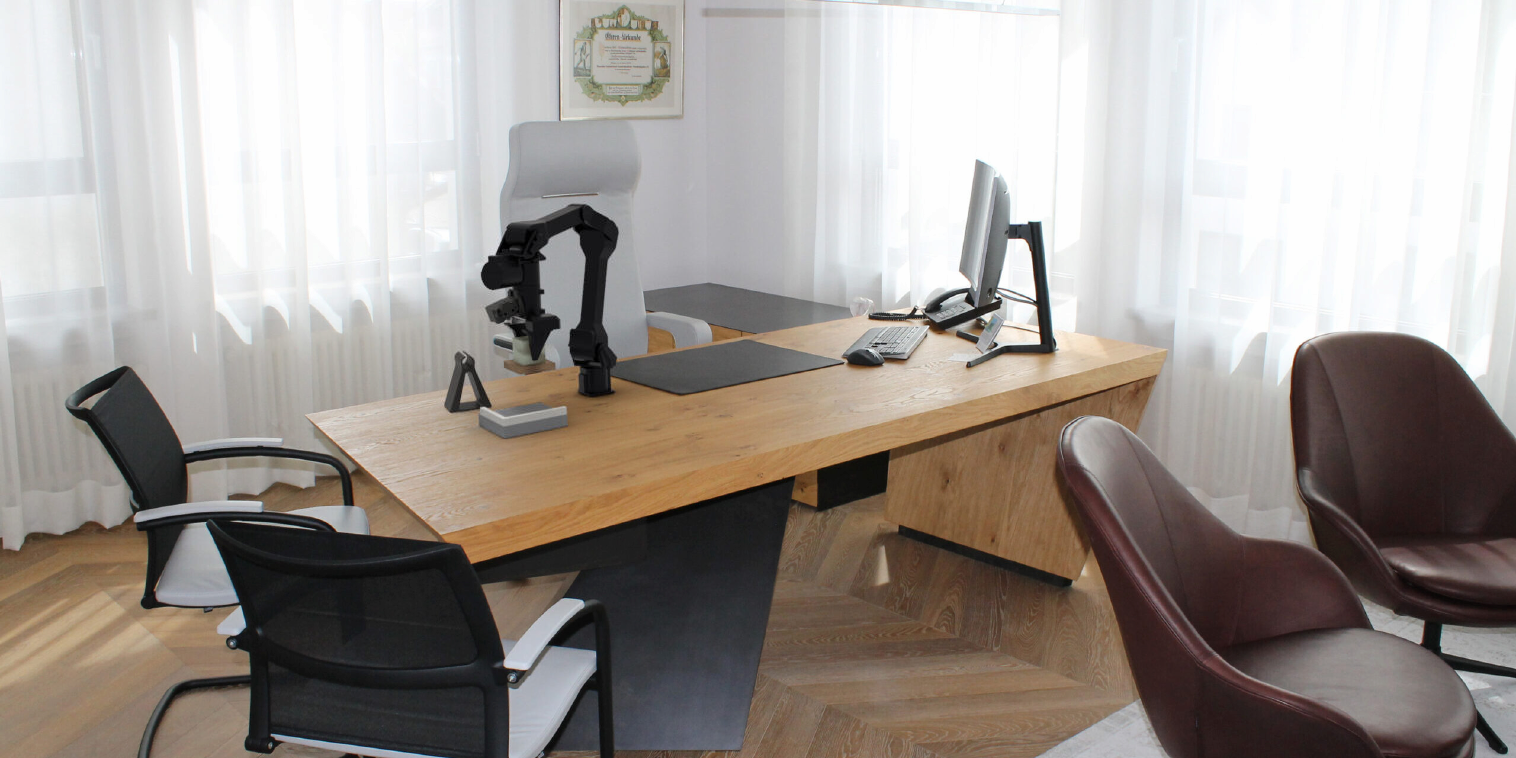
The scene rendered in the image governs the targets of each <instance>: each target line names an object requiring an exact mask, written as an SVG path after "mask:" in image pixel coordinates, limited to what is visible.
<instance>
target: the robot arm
mask: <svg viewBox="0 0 1516 758" xmlns="http://www.w3.org/2000/svg"><path fill="white" fill-rule="evenodd" d="M571 229H572V230H573V231H574V232H575V234H577V235H578V236H579V246H580V249H581V251H582V253H583V256H584V257H585V261H584V272H583V273H584V274H583V282H582V283H583V284H582V295H581V296H582V297H581V307H580V320H579V322H578V324H577V325H576V327H575V328H570V330H569V338H568V339H569V340H568V344H567V347H569V354H570V357H571V360H572V364H573V366H574V367H579V373H578V375H577V377H578V378H577V379H578V389H577V392H578V393H580V394H583V395H586V396H588V397H597V396H602V395H608V394H614V393H615V392H616V390H615V389H613V388H612V375H611V374H612V372H611V370H612V369H613V368H614V367H616V365H617V360H618V356H617V354H616V353H614V351H613V350H612V349H611V348H610V347H609V335H608V333H607V331H606V329H605V327H604V324H603V320H604V307H605V296H606V284H607V274H608V273H607V272H608V263H609V259H610V258H611V257H612V255H613V253H614V252H615V250H616V248H617V244H618V240H619V235H620V233H619V232H620V231H619V227H618V226H617V224H616V223H615V221H614V220H612V219H610V218H609V217H608V216H606V215H604V214H602V213H600V212H598V211H596V210H595V209H594V208H593V207H591V206H590V205H588V204H587V203H570V204H568V205H566V206H565V207H563V208H561V209H558V210H556V211H553V212H552V213H549V214H547V215H545V216H544V215H543V216H542V217H540V218H538V219H533V220H521V221H514V222H511V223H510V222H509V224H507V226H506V227H505V232H504V234H503V236H502V237H501V240H500V242H499V245H498V247H497V249H496V252H495V254H492V255H491V254H490V255H488V256H487V262H485V263H484V265H482V268H481V271H480V278H481V282H482V285H484V287H485V288H487V290H490V291H497V290H501V289H502V290H503V289H508V290H507V296H506V297H504V298H501V299H499V300H497V301H494V302H493V303H490V304H489V305H485V307H484V309H485V311H486V314H487V317H488V319H489V321H490V323H495V324H497V325H500V324H503V325H504V326H505V327H506V328H507V329H509V330H511V332H512V334H513V336H514V337H523V336H528V339H529V345H530V351H531V357H532V360H533V361H537V360H538V358H539V356H540V354H541V352H542V349H543V347H544V345H545V346H546V343H547V340H548V339H549V336H550V334H551V332H553V331H555V330H560V329H561V328H562V326H561V325H562V324H561V319H560V318H559V317H558V316H557V315H555V314H553V313H548V312H547V313H546V308H542V295H545V289H544V288H541V269H540V267H541V266H540V262H544V261H546V260H547V257H546V255H544V254H543V253H542V252H541V250H542V249H543V248H545V247H546V246H547V245H548V244H549V241H550V239H552V238H553V237H555V236H558V235H560V234H561V233H563V232H566V231H568V230H571ZM505 321H506V322H505ZM514 337H513V338H514Z"/></svg>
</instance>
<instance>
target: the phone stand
mask: <svg viewBox="0 0 1516 758" xmlns="http://www.w3.org/2000/svg"><path fill="white" fill-rule="evenodd" d="M464 354H465V355H464ZM453 359H454V369H453V372H452V375H451V379H450V383H449V386H448V390H447V393H446V396H445V400H444V403H443V404H444V407H445V408H446V410H448V411H449V412H450V413H451V414H454V413H462V412H468V411H477V410H480V407H486V408H488V409H491V408H492V406H493V405H492V403H491V401H490V399H489V396H488V395H487V391H486V390H485V387H484V386H483V384H482V382H481V379H480V377H479V375H478V373H477V372H478V371H477V370H476V365H475V364H476V360H475V359H474V357H472V355H471V354H469V353H468V352H467V351H465V350H462V352H461V351H457V352H456V353H455V354H454V357H453ZM465 359H466V360H465ZM464 360H465V361H464ZM466 374H467V376H468V380H469V383H470V386H471V387H472V388H471V389H472V391H473V393H474V397H475V400H472V401H465V402H461V399H462V395H463V389H464V385H465V379H466Z"/></svg>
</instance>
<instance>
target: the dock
mask: <svg viewBox="0 0 1516 758" xmlns="http://www.w3.org/2000/svg"><path fill="white" fill-rule="evenodd" d="M477 416H478V425H479V426H480V427H482V428H484V429H485V430H488V431H490V432H491V433H493V434H494V435H496V436H499V437H501V438H503V439H508V438H516V437H520V436H525V435H529V434H535V433H539V432H545V431H549V430H554V429H559V428H564V427H568V424H569V422H568V407H567V406H566V405H563V406H557V407H552V406H549V405H547V404H545V403H543V402H534V403H528V404H523V405H518V406H513V407H508V408H507V407H506V408H502V409H496V410H491V408H486V407H480V409H479V413H478V415H477Z"/></svg>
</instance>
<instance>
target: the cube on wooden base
mask: <svg viewBox="0 0 1516 758" xmlns="http://www.w3.org/2000/svg"><path fill="white" fill-rule="evenodd" d="M511 340H512V358H513V359H508V360H503V368H504V369H506V370H509V371H511V372H512V373H513V372H514V374H518V375H526V374H534V373H540V372H541V373H542V372H551V371H557V370H556V369H557V368H556V362H554V361H552V360H550V359H546V344H545V345H544V347H543V349H542V352H541V354H540V356H539V358H538V360H537V361H533V360H532V357H531V351H530V345H529V339H528V336H523V337H512V339H511Z"/></svg>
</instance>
